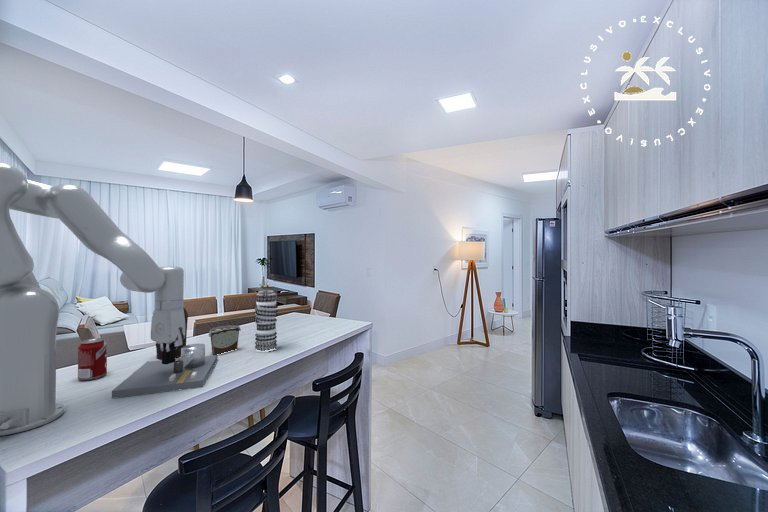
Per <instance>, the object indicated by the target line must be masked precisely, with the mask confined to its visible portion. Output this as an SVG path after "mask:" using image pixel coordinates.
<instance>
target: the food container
mask: <svg viewBox="0 0 768 512" xmlns="http://www.w3.org/2000/svg"><path fill="white" fill-rule="evenodd" d="M240 332H241V327H240V325H223V326H222V325H221V326H217V327H212V328H210V329H209V332H208V337H210V344H211V354H212V355H217V354H221V353H224V352H228V351H231V350H235V349H237V350H238V346H239V337H240ZM212 355H211V356H212ZM221 355H222V354H221ZM217 356H218V355H217Z"/></svg>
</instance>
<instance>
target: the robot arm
mask: <svg viewBox="0 0 768 512" xmlns="http://www.w3.org/2000/svg"><path fill="white" fill-rule="evenodd" d="M10 210H12V211H13V210H14V211H18V212H23V213H26V214H31V215H36V216H41V217H47V218H51V219H52V218H53V219H59V220H60V222H61V223H63V225H64V226H65V227H67V228H68V229H69V230H70V232H72V234H73V235H74V236H75V237H76V238H77V239H78V240H79V241H80V242H81V244H82V245H84V246H85V248H87V250H90V251H91V252H92V253H94V254H95V255H96V254H97V255H98V256H100V257H102V258H104V259H106V260H107V261H109V262H110V263H111V264H113V265H114V266H116V267H117V268H118V270H120V271H121V272H122V273H121V275H120V278H119V281H120V284H121V286H122V287H124V288H125V289H127V290H129V291H132V292H139V293H147V294H150V293H154V310H153V313H152V317H151V324H150V340H151V341H153V342H155V344H156V343H158V344H160V347H161V351H162V359H161V360H162V364H166V365H167V364H170V363H173V362H175V359H176V358H175V356H176V349H177V346H180V345H182V344H183V343H182V340H184V338H185V316H184V310H183V307H184V291H185V290H184V289H185V288H184V286H185V284H184V283H185V282H184V281H185V280H184V279H185V277H184V275H185V272H184V269H183V268H182V267H180V266H159V265H158V264H157V263H156V262H155V260H153V258H152V257H151V256H150V255H149V254H148V253H147V252H146V251H145V249H143V248H142V247H141V246H140V245H139V244H137V243H136V242H135V241H134V240H133V239H132V238H130V237H129V236H128V235H127V234H126V233H124V232H123V231H122V230H121V229H120V227H118V226H117V224H116V223H115V222H114V221H113V220H112V218H110V217H109V215H108V214H107V213H106V212H105V210H104V209H103V208H102V207H101V206H100V205H99V203H97V201H96V200H95V199H94V198H93V197H92V195H90V194H89V192H87V190H85V189H84V188H82V187H81V186H79V185H76V184H71V183H63V184H57V185H51V184H45V183H43V182H42V183H41V182H38V181H35V180H30V179H27V177H26V175H25V174H24V172H23V171H21V170H20V169H19V168H18V167H15V166H14V165H11V164H9V163H5V162H1V161H0V436H1V437H2V436H9V435H13V434H17V433H22V432H26V431H30V430H32V429H35V428H39V427H40V426H44V425H46V424H48V423H51V422H53V421H54V420H55V421H56V420H57V419H58V418H60V417H61V416H62V415H63V414H64V413H65V406H64V405H63V404H59V403H57V402H56V399H57V398H56V397H57V396H56V393H57V391H56V389H57V388H56V387H57V385H56V384H57V331H58V322H59V315H60V306H59V303H58V300H57V299H56V297H55V296H54V295H53V294H52V293H51V292H49V291H48V290H45V289H43V288H41V286H40V284H39V282H38V280H37V279H36V276H35V274H34V272H33V270H34V267H35V264H34V259H33V257H32V256H31V255H30V253H29V251H28V249H27V248H26V246H25V245H24V243H23V241H22V239H21V237H20V235H19V234H18V232H17V229H16V227H15V224H14V222H13V220H12V217H11V213H10Z"/></svg>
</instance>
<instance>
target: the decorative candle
mask: <svg viewBox="0 0 768 512" xmlns="http://www.w3.org/2000/svg"><path fill="white" fill-rule="evenodd" d="M255 295H256V301H255V302H256V303H255V304H256V306H255V307H254V314H255V316H254V318H255V320H254V322H255V324H256V329H255V334H254V335H255V338H254V339H255V341H254V344H255V346H254V348H255V350H256V349H257V350H260V351H265V350H270V349H274V348H275V347H276V348H277V346H278V344H277V342H278V340H277V337H278V336H277V334H278V332H277V325H276V323H277V322H278V319H277V318H276V317H278V310H277V308H278V307H279V306H278V303H277V293H276V292H275V291H274V290H272V289H261V290H259V291H257V293H256V294H255Z"/></svg>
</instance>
